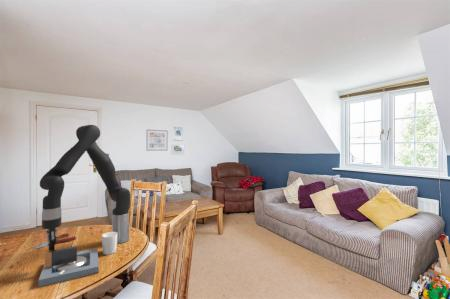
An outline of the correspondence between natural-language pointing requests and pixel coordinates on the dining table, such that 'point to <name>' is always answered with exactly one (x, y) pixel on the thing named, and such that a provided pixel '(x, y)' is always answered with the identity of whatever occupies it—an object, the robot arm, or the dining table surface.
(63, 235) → the pliers
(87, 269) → the housing
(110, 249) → the white cup
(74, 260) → the dial
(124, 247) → the dining table surface
